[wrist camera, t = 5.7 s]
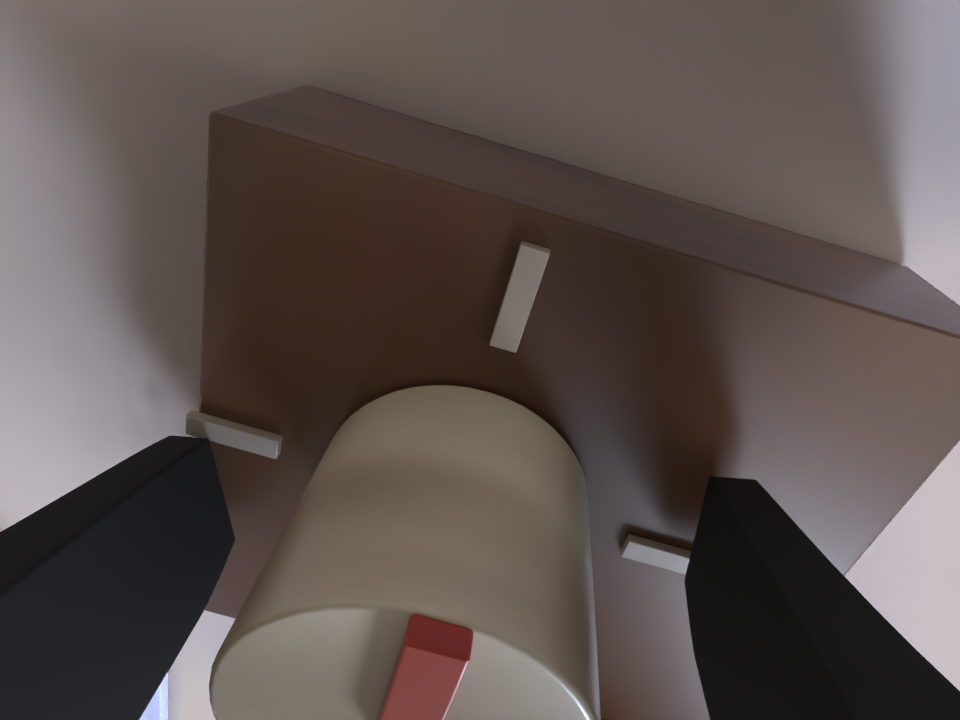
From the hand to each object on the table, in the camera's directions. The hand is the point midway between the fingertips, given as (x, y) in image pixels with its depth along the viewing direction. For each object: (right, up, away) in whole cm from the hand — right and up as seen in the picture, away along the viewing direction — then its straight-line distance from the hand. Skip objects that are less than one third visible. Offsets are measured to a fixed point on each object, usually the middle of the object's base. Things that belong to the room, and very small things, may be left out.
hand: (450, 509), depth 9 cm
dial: (0, 0, 0) cm, 0 cm away
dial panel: (+1, +1, +3) cm, 4 cm away
